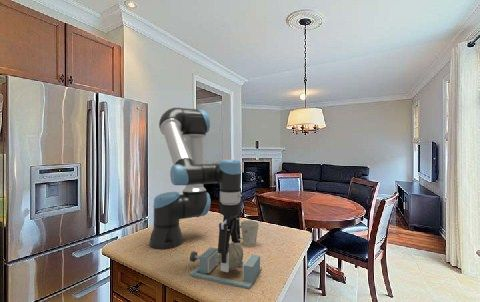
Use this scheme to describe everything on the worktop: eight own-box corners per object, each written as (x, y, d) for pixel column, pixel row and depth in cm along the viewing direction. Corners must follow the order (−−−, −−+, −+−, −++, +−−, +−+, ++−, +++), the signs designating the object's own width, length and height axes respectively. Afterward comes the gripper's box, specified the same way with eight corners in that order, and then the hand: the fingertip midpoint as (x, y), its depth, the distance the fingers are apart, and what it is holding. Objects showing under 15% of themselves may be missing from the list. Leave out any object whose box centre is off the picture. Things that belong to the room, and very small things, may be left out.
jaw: (185, 269, 90) (185, 253, 90) (198, 259, 98) (198, 245, 98) (208, 274, 86) (208, 258, 86) (218, 263, 95) (219, 248, 95)
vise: (189, 276, 86) (189, 259, 86) (208, 259, 99) (208, 244, 99) (249, 289, 78) (250, 270, 78) (261, 269, 91) (261, 253, 91)
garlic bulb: (241, 271, 90) (251, 246, 90) (232, 279, 82) (243, 251, 83) (220, 259, 94) (229, 234, 94) (210, 265, 86) (220, 238, 86)
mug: (257, 248, 110) (257, 226, 110) (230, 245, 113) (230, 224, 113) (259, 241, 119) (259, 220, 119) (234, 239, 121) (234, 219, 121)
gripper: (228, 210, 77) (227, 282, 77) (249, 198, 96) (248, 255, 97) (207, 208, 80) (206, 277, 80) (231, 196, 99) (231, 252, 99)
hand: (229, 265), depth 88 cm, fingers closed on garlic bulb, 8 cm apart
